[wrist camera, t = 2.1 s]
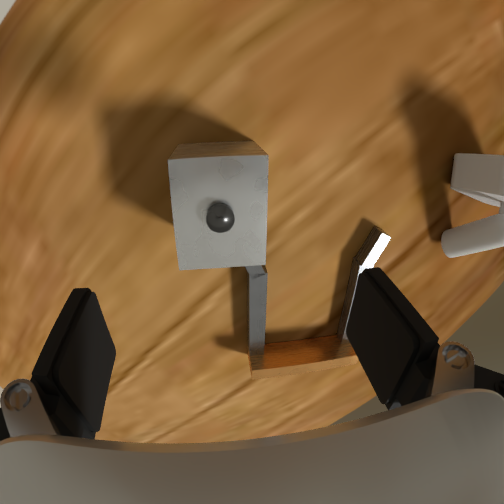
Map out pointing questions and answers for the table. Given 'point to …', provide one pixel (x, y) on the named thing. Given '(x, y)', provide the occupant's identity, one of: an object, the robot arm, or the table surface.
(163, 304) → the table surface
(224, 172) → the block
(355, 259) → the receiver
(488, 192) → the white jointed piece
